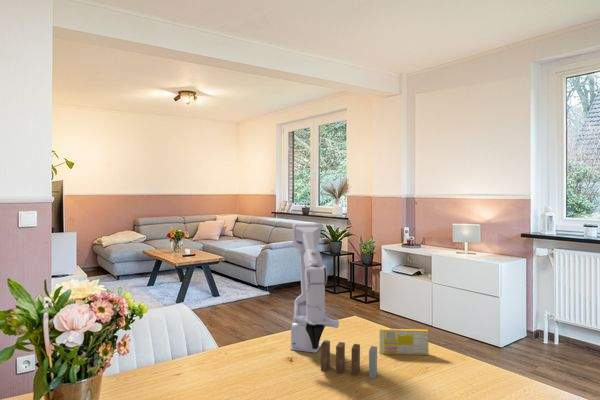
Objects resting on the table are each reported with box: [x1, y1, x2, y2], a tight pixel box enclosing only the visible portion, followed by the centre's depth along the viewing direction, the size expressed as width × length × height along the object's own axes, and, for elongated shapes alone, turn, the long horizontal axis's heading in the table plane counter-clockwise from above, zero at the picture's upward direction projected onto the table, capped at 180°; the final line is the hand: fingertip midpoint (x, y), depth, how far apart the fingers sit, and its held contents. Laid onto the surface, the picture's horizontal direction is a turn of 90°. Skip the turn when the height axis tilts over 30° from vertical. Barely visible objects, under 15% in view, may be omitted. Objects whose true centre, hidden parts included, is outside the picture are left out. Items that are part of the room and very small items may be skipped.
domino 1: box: [320, 339, 331, 372], centre depth 128 cm, size 2×4×8 cm, turn 161°
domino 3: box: [350, 343, 361, 376], centre depth 125 cm, size 2×4×8 cm, turn 161°
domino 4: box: [368, 345, 378, 379], centre depth 124 cm, size 2×4×8 cm, turn 161°
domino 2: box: [335, 341, 346, 374], centre depth 127 cm, size 2×4×8 cm, turn 161°
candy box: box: [378, 327, 430, 356], centre depth 140 cm, size 16×2×8 cm, turn 84°
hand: (315, 347), depth 129 cm, fingers closed
